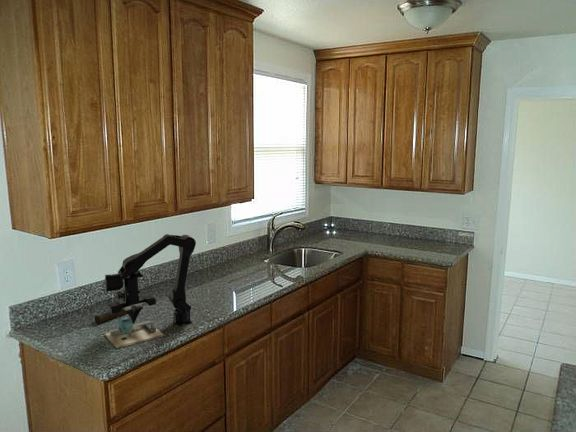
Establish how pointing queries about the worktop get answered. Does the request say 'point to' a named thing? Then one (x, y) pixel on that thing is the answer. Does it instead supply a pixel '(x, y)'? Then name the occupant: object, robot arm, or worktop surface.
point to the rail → (134, 328)
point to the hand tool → (108, 316)
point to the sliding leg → (125, 325)
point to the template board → (133, 337)
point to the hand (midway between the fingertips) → (133, 323)
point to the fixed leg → (150, 327)
